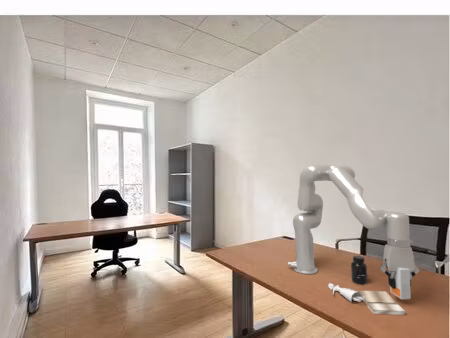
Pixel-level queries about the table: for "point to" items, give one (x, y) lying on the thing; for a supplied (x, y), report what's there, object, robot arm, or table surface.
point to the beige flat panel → (377, 297)
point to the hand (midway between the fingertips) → (399, 287)
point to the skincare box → (402, 284)
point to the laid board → (386, 308)
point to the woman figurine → (347, 293)
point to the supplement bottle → (359, 270)
